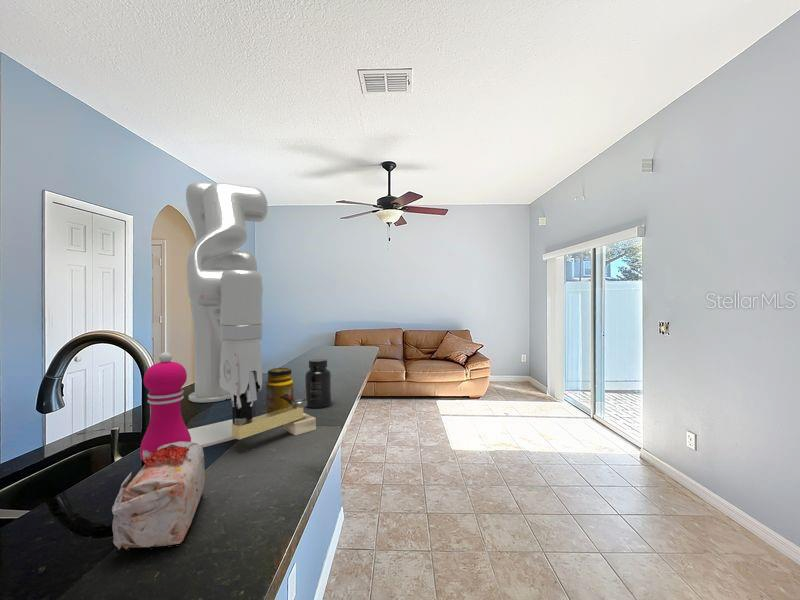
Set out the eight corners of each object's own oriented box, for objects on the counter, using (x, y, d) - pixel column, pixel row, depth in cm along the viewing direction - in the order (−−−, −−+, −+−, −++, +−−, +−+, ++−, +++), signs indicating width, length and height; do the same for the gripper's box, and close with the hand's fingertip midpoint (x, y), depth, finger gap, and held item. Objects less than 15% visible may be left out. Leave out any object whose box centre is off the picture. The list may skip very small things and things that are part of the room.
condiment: (299, 422, 87) (298, 370, 87) (260, 429, 83) (260, 374, 82) (289, 413, 93) (288, 365, 93) (253, 420, 89) (252, 369, 88)
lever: (230, 436, 71) (230, 418, 71) (300, 413, 84) (300, 398, 84) (240, 440, 69) (240, 421, 69) (310, 416, 83) (310, 400, 83)
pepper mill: (201, 468, 64) (200, 350, 64) (162, 488, 57) (161, 356, 57) (170, 461, 66) (168, 348, 66) (128, 481, 60) (127, 354, 59)
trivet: (178, 434, 80) (178, 431, 80) (232, 421, 87) (232, 419, 87) (195, 449, 72) (195, 446, 72) (252, 434, 79) (252, 431, 79)
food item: (189, 551, 43) (188, 465, 43) (106, 567, 41) (105, 476, 41) (208, 492, 56) (208, 426, 56) (146, 501, 54) (146, 432, 54)
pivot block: (283, 429, 82) (283, 418, 82) (304, 423, 86) (303, 412, 86) (295, 435, 79) (295, 423, 79) (316, 429, 82) (315, 418, 82)
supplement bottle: (336, 403, 102) (336, 359, 102) (318, 410, 96) (318, 363, 96) (318, 400, 105) (318, 357, 105) (299, 406, 100) (299, 360, 99)
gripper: (208, 331, 77) (209, 421, 77) (237, 338, 66) (238, 442, 66) (245, 329, 82) (245, 413, 82) (277, 335, 71) (278, 431, 72)
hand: (242, 426), depth 74 cm, fingers closed
